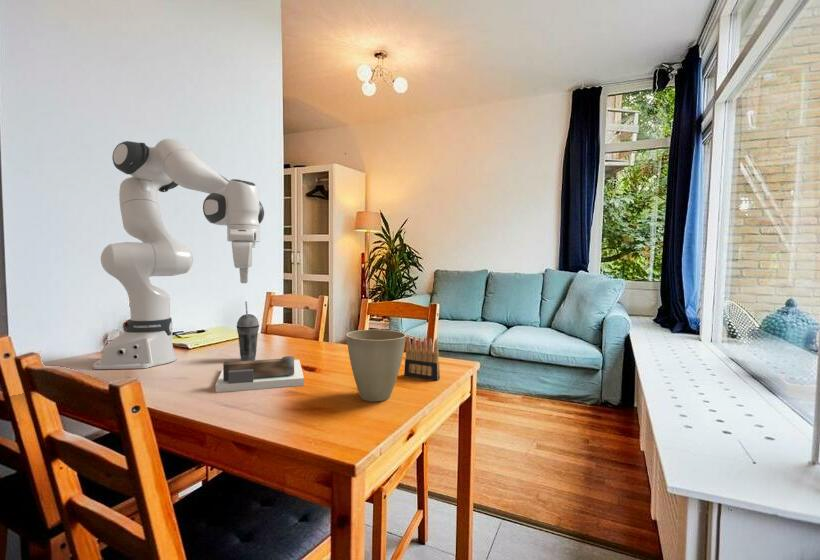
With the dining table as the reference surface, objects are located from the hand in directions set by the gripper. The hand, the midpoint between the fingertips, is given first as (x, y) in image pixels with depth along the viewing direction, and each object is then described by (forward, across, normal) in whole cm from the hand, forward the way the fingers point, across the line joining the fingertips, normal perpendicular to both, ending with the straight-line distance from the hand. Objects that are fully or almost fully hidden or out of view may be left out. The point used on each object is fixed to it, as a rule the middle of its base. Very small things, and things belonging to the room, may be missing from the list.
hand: (244, 283), depth 123 cm
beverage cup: (+27, -18, 0) cm, 33 cm away
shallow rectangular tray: (+27, +5, +5) cm, 28 cm away
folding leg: (+25, +12, +5) cm, 28 cm away
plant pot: (+27, +30, +33) cm, 52 cm away
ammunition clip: (+27, +18, +50) cm, 59 cm away
